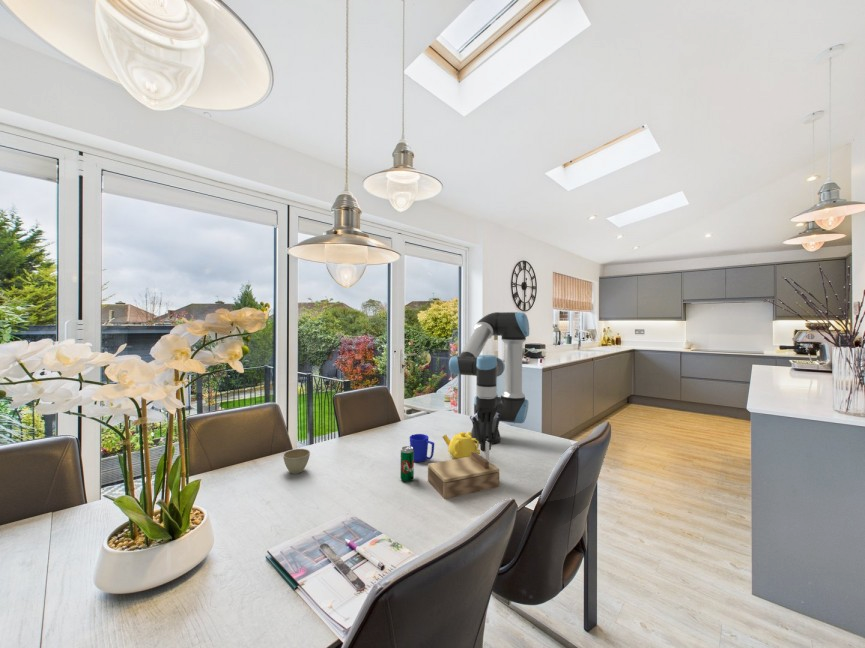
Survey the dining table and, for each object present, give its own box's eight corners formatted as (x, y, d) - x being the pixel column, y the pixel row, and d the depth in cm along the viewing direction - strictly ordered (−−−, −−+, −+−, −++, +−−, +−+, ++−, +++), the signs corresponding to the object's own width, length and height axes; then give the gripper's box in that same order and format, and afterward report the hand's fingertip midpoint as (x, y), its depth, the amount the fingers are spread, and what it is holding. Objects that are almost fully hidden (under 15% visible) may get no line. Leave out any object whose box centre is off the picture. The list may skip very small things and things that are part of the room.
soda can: (408, 475, 138) (408, 444, 138) (416, 479, 134) (416, 448, 134) (397, 479, 134) (397, 447, 134) (406, 483, 131) (406, 451, 130)
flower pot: (280, 477, 135) (280, 459, 135) (285, 466, 145) (286, 449, 144) (308, 475, 137) (308, 457, 137) (311, 465, 147) (311, 447, 146)
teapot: (470, 449, 165) (470, 426, 165) (483, 460, 153) (483, 435, 152) (441, 453, 161) (441, 429, 161) (452, 465, 148) (452, 438, 148)
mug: (427, 467, 145) (427, 443, 145) (405, 460, 152) (405, 437, 152) (439, 461, 151) (439, 438, 151) (417, 454, 159) (417, 432, 159)
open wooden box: (478, 473, 140) (478, 458, 140) (499, 489, 127) (499, 472, 127) (427, 483, 131) (427, 467, 131) (444, 501, 118) (444, 483, 118)
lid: (478, 457, 140) (479, 449, 140) (499, 471, 127) (499, 462, 127) (427, 466, 131) (428, 457, 131) (444, 482, 118) (444, 472, 118)
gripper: (495, 393, 139) (494, 453, 139) (466, 396, 133) (465, 458, 134) (506, 397, 132) (505, 460, 132) (476, 400, 126) (475, 465, 127)
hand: (485, 459), depth 133 cm, fingers closed
